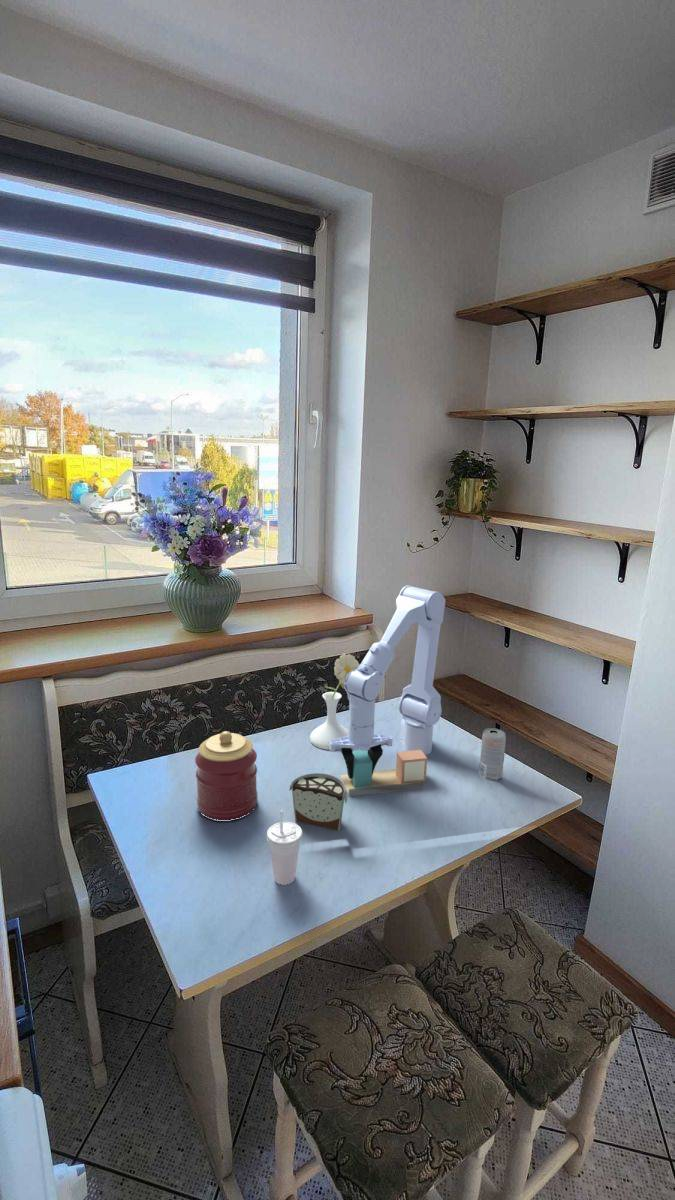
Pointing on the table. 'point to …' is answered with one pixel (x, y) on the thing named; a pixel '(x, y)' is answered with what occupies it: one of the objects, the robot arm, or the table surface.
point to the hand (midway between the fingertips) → (359, 775)
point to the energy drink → (492, 754)
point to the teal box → (362, 769)
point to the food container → (319, 800)
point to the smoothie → (284, 849)
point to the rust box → (411, 766)
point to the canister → (226, 776)
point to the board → (379, 784)
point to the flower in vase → (334, 705)
